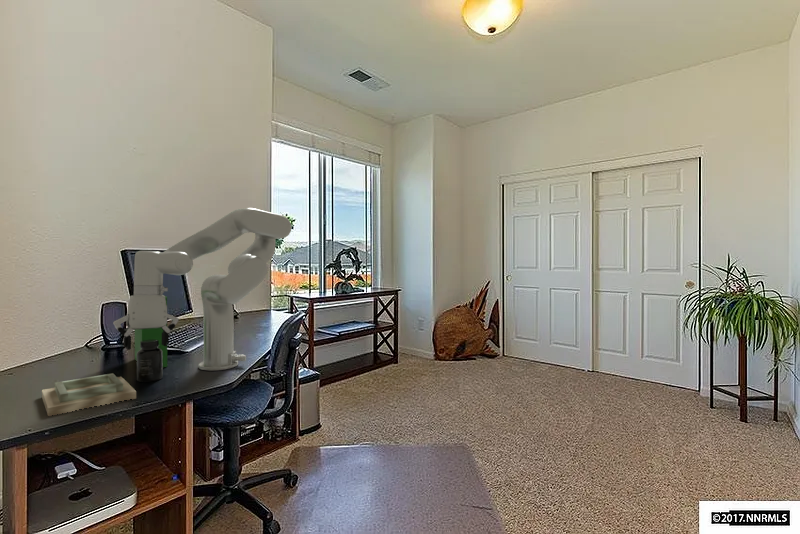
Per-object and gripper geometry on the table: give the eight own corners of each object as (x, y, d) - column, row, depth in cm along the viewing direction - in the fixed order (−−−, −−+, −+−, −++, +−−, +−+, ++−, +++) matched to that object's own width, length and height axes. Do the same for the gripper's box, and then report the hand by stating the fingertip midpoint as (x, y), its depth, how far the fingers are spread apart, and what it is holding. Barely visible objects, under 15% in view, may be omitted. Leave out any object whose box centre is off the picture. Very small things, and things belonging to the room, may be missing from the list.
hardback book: (134, 359, 151) (134, 293, 151) (158, 356, 156) (157, 292, 155) (142, 370, 138) (141, 298, 137) (167, 366, 142) (167, 296, 142)
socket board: (121, 383, 124) (121, 369, 124) (136, 398, 111) (136, 383, 111) (41, 397, 111) (41, 382, 111) (48, 416, 98) (47, 399, 98)
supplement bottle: (167, 377, 130) (167, 339, 130) (148, 383, 124) (147, 343, 123) (151, 375, 132) (151, 337, 132) (131, 381, 126) (131, 341, 125)
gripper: (175, 289, 136) (173, 342, 136) (111, 291, 124) (110, 348, 124) (182, 291, 130) (181, 346, 130) (117, 292, 118) (115, 352, 118)
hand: (146, 347), depth 127 cm, fingers open, 9 cm apart
